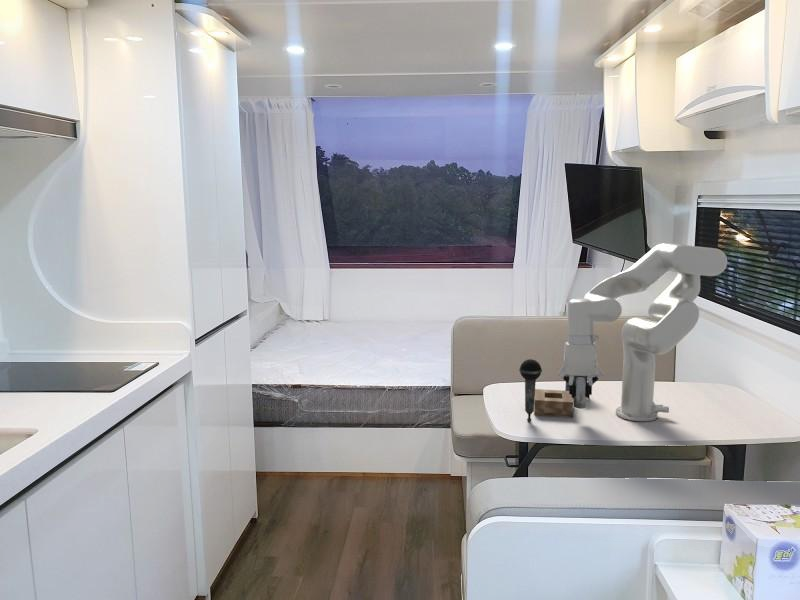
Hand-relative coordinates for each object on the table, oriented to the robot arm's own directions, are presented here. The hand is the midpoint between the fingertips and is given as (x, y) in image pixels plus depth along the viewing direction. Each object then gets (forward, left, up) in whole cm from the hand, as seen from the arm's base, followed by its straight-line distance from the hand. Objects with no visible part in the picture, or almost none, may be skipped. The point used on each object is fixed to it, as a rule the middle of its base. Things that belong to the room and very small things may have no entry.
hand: (580, 396), depth 197 cm
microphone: (+15, +3, -8) cm, 18 cm away
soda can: (0, -27, -8) cm, 28 cm away
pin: (0, 0, -3) cm, 3 cm away
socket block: (+8, -10, -8) cm, 15 cm away
